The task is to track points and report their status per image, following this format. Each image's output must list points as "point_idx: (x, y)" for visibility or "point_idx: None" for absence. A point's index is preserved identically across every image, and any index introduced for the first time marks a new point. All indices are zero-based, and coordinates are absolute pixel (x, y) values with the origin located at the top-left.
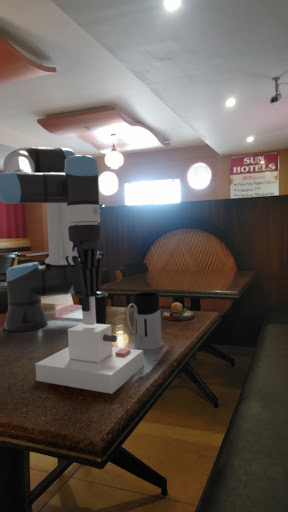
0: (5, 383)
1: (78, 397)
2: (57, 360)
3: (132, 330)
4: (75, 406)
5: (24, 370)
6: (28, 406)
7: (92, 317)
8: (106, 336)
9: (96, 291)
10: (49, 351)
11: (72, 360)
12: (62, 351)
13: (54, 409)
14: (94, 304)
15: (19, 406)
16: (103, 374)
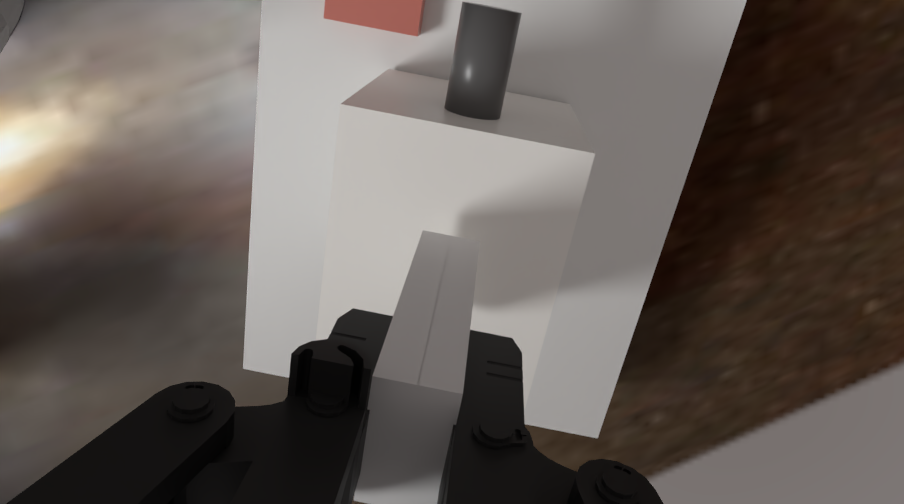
0: None
1: (764, 120)
2: (541, 354)
3: (4, 20)
4: (862, 96)
5: None
6: (846, 304)
7: (472, 270)
8: (499, 89)
9: (281, 408)
10: None
11: None
12: None
13: (884, 182)
14: (407, 321)
15: (843, 338)
16: (742, 5)
